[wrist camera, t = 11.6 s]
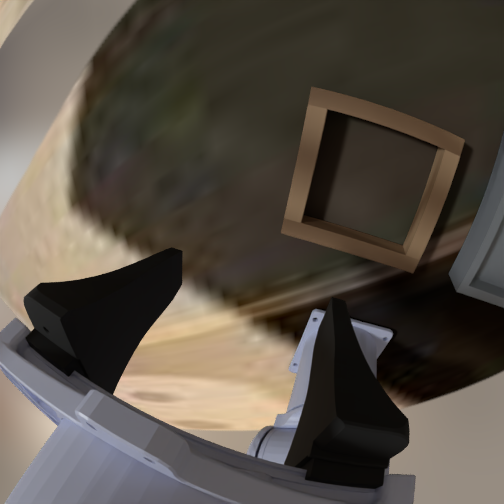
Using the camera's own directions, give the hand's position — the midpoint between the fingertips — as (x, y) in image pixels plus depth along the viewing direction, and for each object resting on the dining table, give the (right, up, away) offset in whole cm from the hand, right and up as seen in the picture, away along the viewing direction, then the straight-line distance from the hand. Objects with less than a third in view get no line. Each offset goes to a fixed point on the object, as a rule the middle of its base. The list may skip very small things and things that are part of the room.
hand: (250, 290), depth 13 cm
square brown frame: (+8, +7, +5) cm, 12 cm away
